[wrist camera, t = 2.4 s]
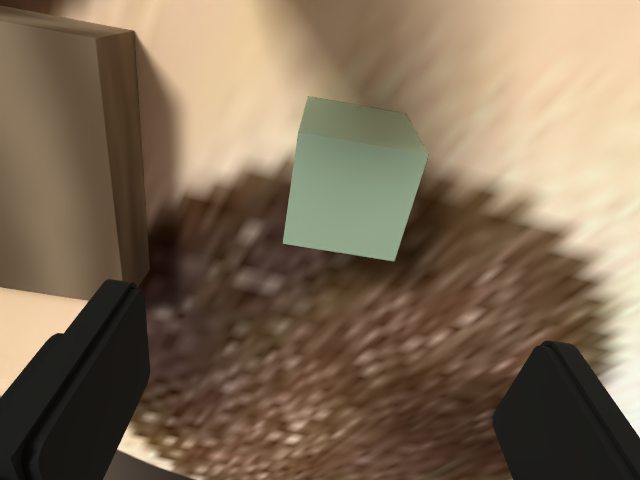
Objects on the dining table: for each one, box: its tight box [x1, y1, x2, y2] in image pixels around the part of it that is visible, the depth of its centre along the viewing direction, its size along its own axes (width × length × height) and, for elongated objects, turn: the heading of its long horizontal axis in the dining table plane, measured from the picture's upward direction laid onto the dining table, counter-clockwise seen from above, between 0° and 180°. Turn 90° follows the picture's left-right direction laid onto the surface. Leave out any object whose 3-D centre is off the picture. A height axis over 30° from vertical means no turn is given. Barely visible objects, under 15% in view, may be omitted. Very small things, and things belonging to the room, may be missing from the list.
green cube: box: [283, 96, 428, 261], centre depth 19 cm, size 5×5×6 cm
